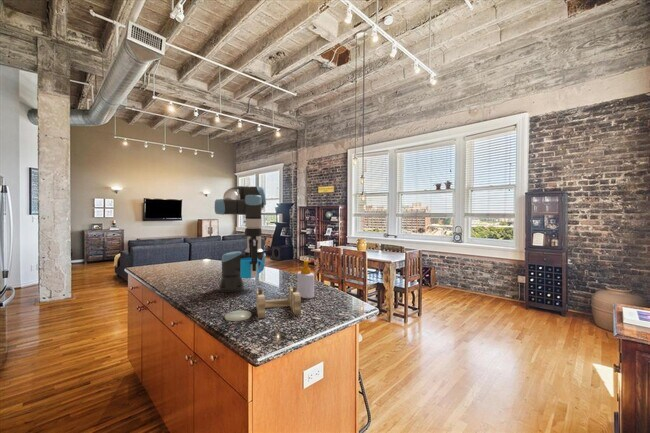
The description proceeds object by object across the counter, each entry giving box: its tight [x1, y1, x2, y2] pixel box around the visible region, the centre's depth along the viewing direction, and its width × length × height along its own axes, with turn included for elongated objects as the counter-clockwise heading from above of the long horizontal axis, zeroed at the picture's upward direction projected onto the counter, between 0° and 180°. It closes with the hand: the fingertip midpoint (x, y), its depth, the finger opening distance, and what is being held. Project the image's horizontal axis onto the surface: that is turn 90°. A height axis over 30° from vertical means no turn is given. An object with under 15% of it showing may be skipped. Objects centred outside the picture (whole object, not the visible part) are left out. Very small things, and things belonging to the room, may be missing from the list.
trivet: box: [224, 310, 252, 322], centre depth 137 cm, size 12×12×1 cm
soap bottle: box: [296, 260, 315, 299], centre depth 172 cm, size 13×8×20 cm, turn 34°
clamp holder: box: [255, 286, 302, 319], centre depth 146 cm, size 16×20×11 cm
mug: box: [240, 258, 265, 279], centre depth 140 cm, size 12×8×8 cm
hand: (253, 275), depth 139 cm, fingers closed on mug, 8 cm apart
